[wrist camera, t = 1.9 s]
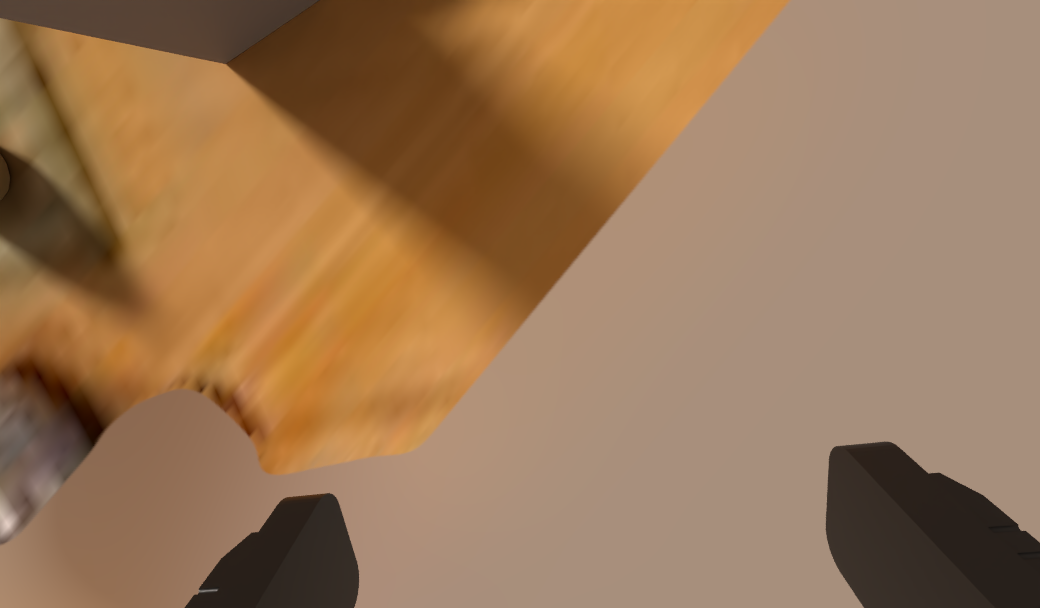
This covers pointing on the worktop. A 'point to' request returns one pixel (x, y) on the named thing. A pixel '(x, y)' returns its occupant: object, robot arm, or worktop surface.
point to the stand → (164, 22)
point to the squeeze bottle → (4, 178)
